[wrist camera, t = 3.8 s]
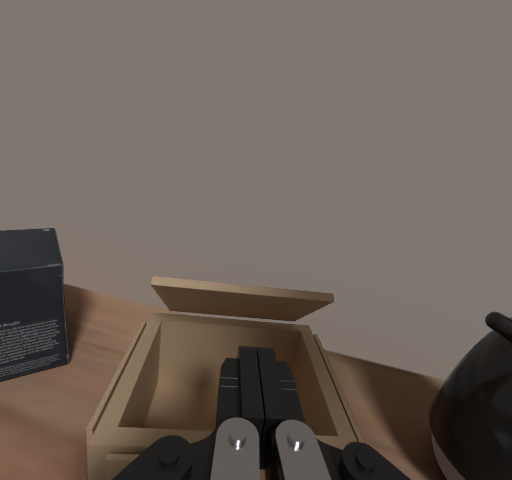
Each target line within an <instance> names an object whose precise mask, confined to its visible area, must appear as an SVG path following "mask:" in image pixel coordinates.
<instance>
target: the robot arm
mask: <svg viewBox="0 0 512 480" xmlns="http://www.w3.org/2000/svg"><path fill="white" fill-rule="evenodd" d="M259 470H265V479H266V480H411V479H409V478H408V477H407V476H406V475H405V474H403V473H402V472H401V471H400V470H399V469H397V468H396V467H395V466H394V465H393V464H391V463H390V462H389V461H388V460H387V459H385V458H384V457H383V456H382V455H381V454H379V453H378V452H377V451H376V450H375V449H373V448H372V447H370V446H369V445H367V444H365V443H361V442H350V443H348V444H347V445H346V446H345V447H344V449H343V450H342V449H339V448H336V447H334V446H331V445H328V444H326V443H323V442H322V441H320V440H319V439H317V438H316V436H315V434H314V432H313V431H312V430H311V429H310V428H309V427H308V426H307V425H306V422H305V419H304V415H303V411H302V407H301V403H300V400H299V396H298V392H297V388H296V384H295V382H294V377H293V373H292V370H291V369H290V367H289V366H288V365H287V363H286V362H285V361H276V357H275V352H274V349H273V348H264V347H248V346H239V348H238V355H237V358H226V359H225V361H224V362H223V364H222V365H221V370H220V378H219V386H218V394H217V411H216V428H215V430H214V431H213V432H212V433H211V434H210V435H209V436H208V437H206V438H204V439H202V440H200V441H197V442H193V443H189V442H188V441H187V440H186V439H185V438H183V437H181V436H177V435H168V436H164V437H161V438H159V439H158V440H156V441H155V442H154V443H152V444H151V445H150V446H149V447H148V448H147V449H146V450H145V451H143V452H142V453H141V454H140V455H139V456H138V457H137V458H135V459H134V460H133V461H132V462H131V463H130V464H129V465H128V466H126V467H125V468H124V469H123V470H122V471H121V472H120V473H119V474H117V475H116V476H115V477H114V478H113V479H112V480H260V474H259Z"/></svg>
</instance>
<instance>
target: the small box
mask: <svg viewBox="0 0 512 480" xmlns="http://www.w3.org/2000/svg"><path fill="white" fill-rule="evenodd" d="M69 362H70V357H69V348H68V337H67V325H66V312H65V300H64V284H63V262H62V257H61V253H60V248H59V244H58V240H57V235H56V231H55V229H54V228H47V229H27V230H7V231H0V382H1V381H5V380H9V379H13V378H17V377H20V376H24V375H28V374H32V373H36V372H40V371H43V370H47V369H51V368H55V367H59V366H63V365H66V364H68V363H69Z"/></svg>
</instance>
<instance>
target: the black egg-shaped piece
mask: <svg viewBox="0 0 512 480" xmlns="http://www.w3.org/2000/svg"><path fill="white" fill-rule="evenodd" d="M485 322H486V324H487V326H488V327H490V328H491V329H493V330H492V331H491V332H489V333H488V334H487V335H486V336H485V337H484V338H483V339H481V340H480V341H479V342H478V343H477V344H476V345H475V346H474V347H473V348H472V349H471V350H470V351H469V352H468V353H467V354H466V355H465V356H464V358H463V359H462V360H461V361H460V362H459V363H458V364H457V366H456V367H455V368H454V369H453V371H452V372H451V373H450V375H449V376H448V378H447V379H446V381H445V382H444V384H443V385H442V387H441V388H440V390H439V391H438V393H437V395H436V397H435V399H434V401H433V403H432V406H431V408H430V412H429V422H430V427H431V438H432V445H433V449H434V453H435V456H436V459H437V462H438V464H439V466H440V468H441V470H442V472H443V474H444V476H445V478H446V479H447V480H512V317H511V318H509V317H507V316H505V315H503V314H501V313H499V312H491V313H489V314H488V315H487V316H486V319H485Z"/></svg>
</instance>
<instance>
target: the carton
mask: <svg viewBox="0 0 512 480" xmlns="http://www.w3.org/2000/svg"><path fill="white" fill-rule="evenodd" d="M239 346H248V347H264V348H273V349H274V352H275V357H276V361H285V362H286V363H287V365H288V366H289V367H290V369H291V370H292V373H293V377H294V382H295V384H296V388H297V392H298V396H299V400H300V403H301V407H302V411H303V415H304V419H305V422H306V425H307V426H308V427H309V428H310V429H311V430H312V431H313V432H314V434H315V436H316V438H317V439H319V440H320V441H322V442H323V443H326V444H328V445H331V446H334V447H336V448H339V449H342V450H343V449H344V447H345V446H346V445H347V444H348V443H350V442H361V443H363V438H362V435H361V433H360V431H359V428H358V426H357V424H356V422H355V419H354V417H353V415H352V413H351V410H350V408H349V406H348V403H347V401H346V399H345V397H344V394H343V392H342V390H341V388H340V385H339V383H338V381H337V378H336V376H335V374H334V372H333V369H332V367H331V365H330V363H329V360H328V358H327V356H326V354H325V351H324V349H323V347H322V345H321V342H320V340H319V338H318V336H317V335H316V334H314V336H313V334H312V332H311V330H310V327H309V326H307V325H294V324H283V323H270V322H259V321H247V320H235V319H223V318H212V317H199V316H188V315H176V314H164V313H152V315H151V317H150V319H149V321H148V323H147V325H146V321H143V320H142V322H141V324H140V326H139V328H138V330H137V332H136V334H135V336H134V338H133V340H132V342H131V344H130V345H129V347H128V349H127V351H126V353H125V355H124V357H123V359H122V361H121V363H120V365H119V367H118V369H117V371H116V372H115V374H114V376H113V378H112V380H111V382H110V384H109V386H108V388H107V390H106V392H105V394H104V396H103V397H102V399H101V401H100V403H99V405H98V407H97V409H96V411H95V413H94V415H93V417H92V419H91V421H90V422H89V424H88V426H87V428H86V434H87V465H88V480H112V479H113V478H114V477H115V476H116V475H117V474H119V473H120V472H121V471H122V470H123V469H124V468H125V467H126V466H128V465H129V464H130V463H131V462H132V461H133V460H134V459H135V458H137V457H138V456H139V455H140V454H141V453H142V452H143V451H145V450H146V449H147V448H148V447H149V446H150V445H151V444H152V443H154V442H155V441H156V440H158V439H159V438H161V437H164V436H168V435H177V436H181V437H183V438H185V439H186V440H187V441H188V442H189V443H193V442H197V441H200V440H202V439H204V438H206V437H208V436H209V435H210V434H211V433H212V432H213V431H214V430H215V428H216V411H217V394H218V386H219V378H220V370H221V365H222V364H223V362H224V361H225V359H226V358H237V355H238V348H239ZM259 474H260V480H266V479H265V470H259Z"/></svg>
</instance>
